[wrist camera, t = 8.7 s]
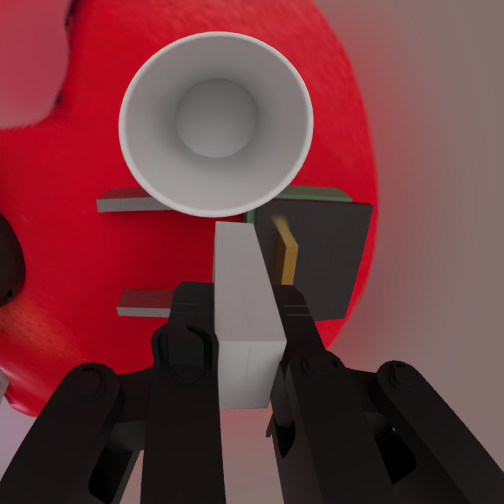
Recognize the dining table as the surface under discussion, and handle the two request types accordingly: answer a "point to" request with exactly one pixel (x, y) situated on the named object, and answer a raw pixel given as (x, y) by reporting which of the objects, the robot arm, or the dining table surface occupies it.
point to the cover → (314, 249)
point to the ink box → (3, 384)
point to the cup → (216, 124)
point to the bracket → (137, 299)
